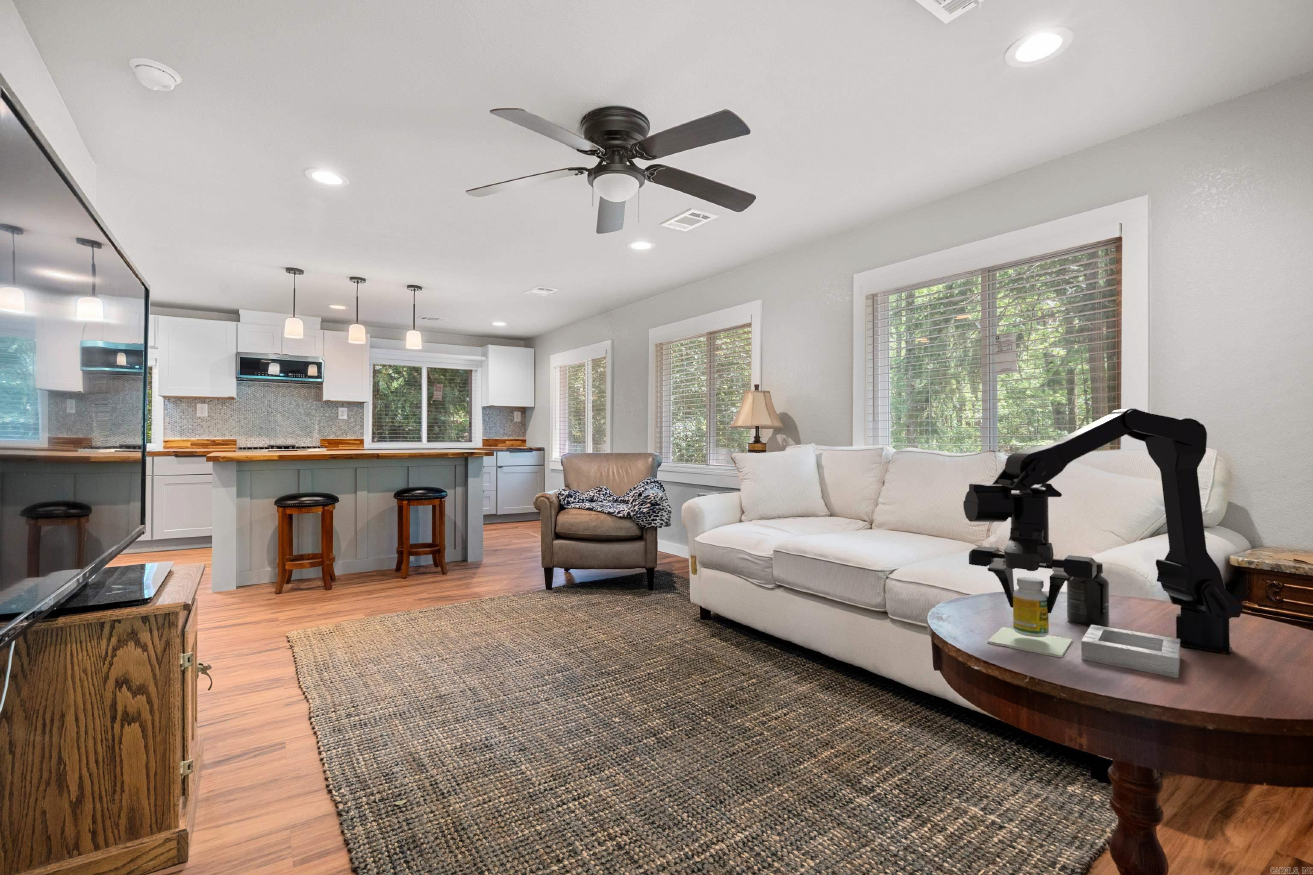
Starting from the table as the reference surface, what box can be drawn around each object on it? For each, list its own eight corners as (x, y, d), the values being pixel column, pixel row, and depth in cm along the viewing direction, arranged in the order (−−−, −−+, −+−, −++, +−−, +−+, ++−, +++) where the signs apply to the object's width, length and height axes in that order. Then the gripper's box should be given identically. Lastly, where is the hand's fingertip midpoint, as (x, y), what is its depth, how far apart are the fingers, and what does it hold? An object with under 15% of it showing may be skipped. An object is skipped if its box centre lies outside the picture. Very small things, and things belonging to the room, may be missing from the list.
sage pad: (1072, 641, 107) (1072, 639, 107) (1061, 657, 99) (1061, 655, 99) (1002, 628, 115) (1002, 626, 115) (987, 643, 107) (987, 640, 107)
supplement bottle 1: (1018, 626, 111) (1017, 574, 111) (1052, 633, 107) (1051, 578, 107) (1009, 633, 107) (1008, 578, 107) (1044, 640, 103) (1043, 583, 103)
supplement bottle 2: (1117, 629, 115) (1116, 566, 115) (1076, 627, 116) (1076, 564, 116) (1098, 619, 121) (1097, 559, 121) (1060, 617, 123) (1060, 558, 123)
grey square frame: (1180, 657, 100) (1180, 638, 100) (1178, 678, 91) (1178, 658, 91) (1091, 641, 108) (1091, 624, 108) (1081, 659, 99) (1081, 640, 99)
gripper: (959, 522, 108) (960, 609, 107) (1087, 532, 95) (1088, 631, 95) (976, 516, 116) (977, 597, 116) (1096, 524, 103) (1097, 616, 103)
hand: (1030, 609), depth 107 cm, fingers closed on supplement bottle 1, 5 cm apart
